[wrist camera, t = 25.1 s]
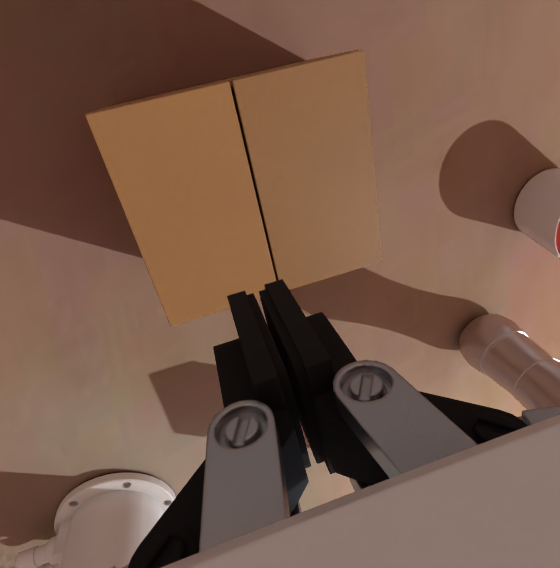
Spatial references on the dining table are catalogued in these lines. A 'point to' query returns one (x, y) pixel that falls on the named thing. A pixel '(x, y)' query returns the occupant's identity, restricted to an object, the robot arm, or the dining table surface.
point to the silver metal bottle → (512, 360)
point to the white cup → (541, 210)
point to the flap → (187, 197)
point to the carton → (309, 164)
